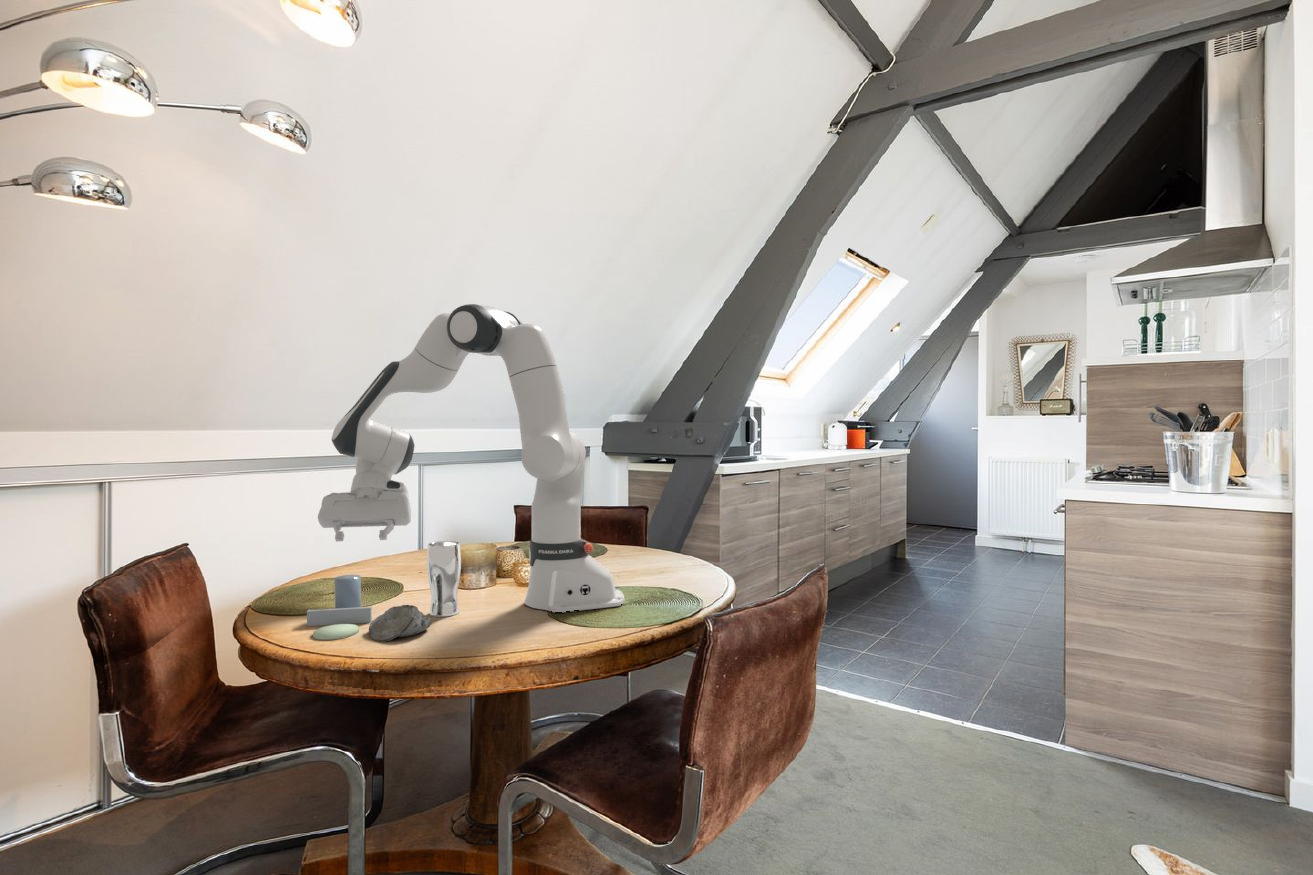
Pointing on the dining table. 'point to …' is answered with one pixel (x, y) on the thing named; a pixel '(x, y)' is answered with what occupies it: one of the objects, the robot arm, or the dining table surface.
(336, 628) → the coaster
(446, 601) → the beer glass
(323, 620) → the wall
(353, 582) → the blue-grey cylinder
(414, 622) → the fossilized seashell
